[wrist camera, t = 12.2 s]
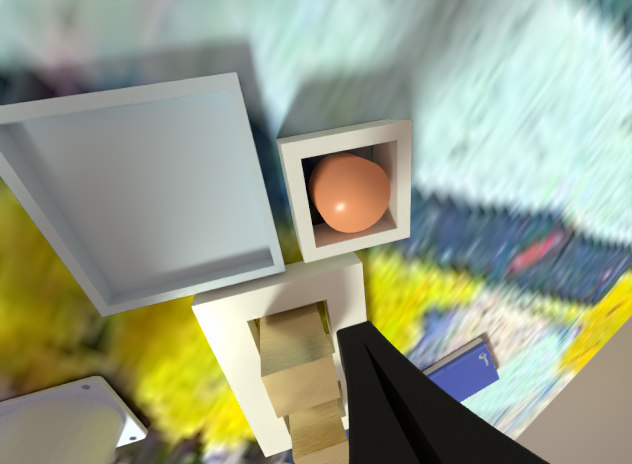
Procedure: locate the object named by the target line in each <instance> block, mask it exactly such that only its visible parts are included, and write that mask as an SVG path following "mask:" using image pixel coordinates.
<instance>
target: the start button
mask: <svg viewBox="0 0 632 464" xmlns="http://www.w3.org/2000/svg"><path fill="white" fill-rule="evenodd" d="M308 188H309V195H310V198H311V200H312V202H313V203H314V205H315V206H316V208H317V209H318V211H319V212H320V214H321V216H322V217H323V219H324V220H325V221H326V223H327V224H328V225H329V226H331V227H332V228H334V229H336V230H338V231H341V232H345V233H354V232H359V231H363V230H365V229H367V228H369V227H371V226H372V225H373V224H375V223H376V222H377V221H378V220H379V219H380V218H381V217H382V215H383V214H384V212H385V211H386V209H387V206H388V204H389V201H390V195H391V188H390V182H389V179H388V177H387V175H386V173H385V172H384V170H383V169H382V168H381V167H380V166H378V165H377V164H375V163H373V162H371V161H369V160H366V159H364V158H361V157H359V156H356V155H354V154H351V153H347V152H337V153H333V154H330V155H328V156H326V157H324V158H323V159H322V160H320V161H319V162H318V163H317V165H316V166H315V167H314V169H313V171H312V173H311V175H310V178H309V186H308Z"/></svg>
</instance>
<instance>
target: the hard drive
mask: <svg viewBox="0 0 632 464" xmlns="http://www.w3.org/2000/svg"><path fill="white" fill-rule="evenodd" d="M423 373H424V374H425V375H426V376H427V377H428V378H430V379H431V380H432V381H433V382H434V383H436V384H437V385H438V386H439V387H440V388H442V389H443V390H444V391H445V392H447V393H448V394H449V395H451V396H452V397H453V398H454V399H456V400H457V401H458V402H462V401H463V400H465V399H466V398H468V397H470V396H471V395H473V394H475V393H477V392H478V391H480V390H482V389H483V388H485V387H487V386H489V385H490V384H492V383H494V382H495V381H497V380H499V376H498V373H497V371H496V368H495V366H494V363H493V360H492V358H491V355H490V353H489V350H488V348H487V345H486V344H485V343H484V341H483V340H482V339H481V338H480V337H479V338H477V339H475V340H474V341H472V342H470V343H469V344H467V345H465V346H464V347H462V348H461V349H459V350H457V351H456V352H454V353H452V354H451V355H449V356H447V357H446V358H444V359H443V360H441V361H439V362H438V363H436V364H434V365H433V366H431V367H429V368H428V369H426V370H425V371H423Z"/></svg>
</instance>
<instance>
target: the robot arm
mask: <svg viewBox="0 0 632 464" xmlns="http://www.w3.org/2000/svg"><path fill="white" fill-rule="evenodd" d="M336 335H337V341H338V347H339V353H340V359H341V364H342V367H343V371H344V375H345V379H346V385H347V400H348V420H349V464H550V463H548V462H547V461H545V460H543V459H541V458H540V457H539V456H537V455H536V454H534V453H532V452H531V451H529V450H528V449H526V448H525V447H523V446H521V445H520V444H519V443H517V442H516V441H514V440H512V439H511V438H509V437H508V436H506V435H505V434H503V433H502V432H500V431H499V430H497V429H496V428H494V427H493V426H491V425H490V424H489V423H487V422H486V421H484V420H483V419H482V418H480V417H479V416H477V415H476V414H474V413H473V412H472V411H470V410H469V409H468V408H466V407H465V406H464V405H462V404H461V403H460V402H458V401H457V400H456V399H454V398H453V397H452V396H451V395H449V394H448V393H447V392H445V391H444V390H443V389H442V388H440V387H439V386H438V385H437V384H436V383H434V382H433V381H432V380H431V379H430V378H428V377H427V376H426V375H425V374H424V373H423V372H421V371H420V370H419V369H418V368H417V367H416V366H415V365H414V364H412V363H411V362H410V361H409V360H408V359H407V358H406V357H405V356H404V355H403V354H402V353H400V352H399V351H398V350H397V349H396V348H395V347H394V346H393V345H392V344H391V343H390V342H389V341H388V340H387V339H386V338H385V337H384V336H383V335H382V334H381V333H380V332H379V331H378V329H377V328H376V327H375V326H374V325H373V324H372V323H371V322H370V321H365V322H362V323H359V324H355V325H352V326H349V327H345V328H342V329H339V330H338V331H337V332H336ZM147 432H148V431H147V429H146V428H145V427H144V425H143V424H142V423H141V422H140V421H139V420H138V418H137V417H136V416H135V415H134V414H133V413H132V411H131V410H130V409H129V408H128V407H127V405H126V404H125V403H124V402H123V401H122V400H121V398H120V397H119V396H118V395H117V394H116V392H115V391H114V390H113V389H112V388H111V387H110V385H109V384H108V383H107V382H106V381H105V380H104V378H102V377H101V376H92V377H88V378H85V379H81V380H78V381H74V382H70V383H67V384H63V385H60V386H56V387H52V388H49V389H45V390H42V391H38V392H35V393H31V394H27V395H24V396H20V397H17V398H13V399H9V400H6V401H2V402H0V464H109V463H110V461H111V459H112V456H113V454H114V452H115V449H116V447H119V446H122V445H125V444H128V443H132V442H135V441H138V440H141V439H144V438H145V437H146V435H147Z"/></svg>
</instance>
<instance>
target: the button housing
mask: <svg viewBox="0 0 632 464" xmlns="http://www.w3.org/2000/svg"><path fill="white" fill-rule="evenodd" d="M276 142H277V147H278V152H279V156H280V161H281V166H282V171H283V175H284V180H285V185H286V190H287V195H288V199H289V204H290V209H291V214H292V218H293V223H294V228H295V233H296V238H297V242H298V245H299V248H300V250H301V253H302V256H303V259H304V262H305V263H308V262H312V261H316V260H320V259H324V258H328V257H332V256H336V255H340V254H344V253H348V252H352V251H356V250H360V249H364V248H368V247H372V246H376V245H380V244H384V243H388V242H392V241H396V240H400V239H404V238H407V237H410V198H411V154H412V120H392V119H383V120H378V121H372V122H367V123H361V124H356V125H350V126H345V127H339V128H334V129H328V130H323V131H317V132H312V133H306V134H301V135H295V136H290V137H284V138H279V139H276ZM369 145H373V157H374V163H375V164H377V165H378V166H380V167H381V168H382V169H383V170H384V172H385V173H386V175H387V177H388V179H389V182H390V188H391V195H390V201H389V204H388V206H387V209H386V211H385V212H384V214H383V215H382V217H381V218H380V219H379V220H378V221H377V222H376V223H375V224H373V225H372V226H371V227H369V228H367V229H365V230H363V231H359V232H354V233H345V232H341V231H338V230H336V229H334V228H332V227H331V226H329V225H328V224H327V223H323V224H318V225H314V226H312V221H311V216H310V210H309V204H308V198H307V193H306V187H305V181H304V175H303V169H302V164H301V159H302V158H307V157H312V156H318V155H323V154H328V153H333V152H338V151H343V150H348V149H354V148H359V147H364V146H369Z"/></svg>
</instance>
